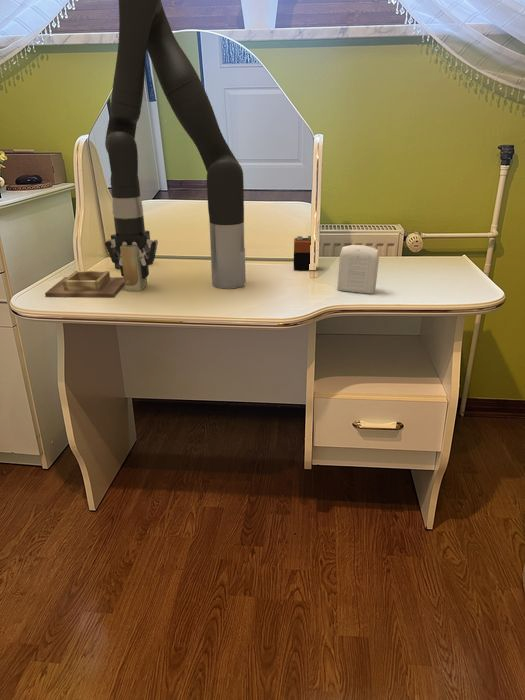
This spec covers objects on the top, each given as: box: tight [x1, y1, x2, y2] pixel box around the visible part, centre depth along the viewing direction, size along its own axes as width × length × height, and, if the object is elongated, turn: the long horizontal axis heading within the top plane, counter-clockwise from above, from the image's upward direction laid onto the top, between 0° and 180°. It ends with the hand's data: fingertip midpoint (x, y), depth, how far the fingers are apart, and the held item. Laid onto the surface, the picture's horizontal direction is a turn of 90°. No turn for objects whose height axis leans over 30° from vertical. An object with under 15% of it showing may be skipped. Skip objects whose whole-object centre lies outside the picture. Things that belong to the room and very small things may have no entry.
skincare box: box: [120, 245, 148, 292], centre depth 139 cm, size 6×4×12 cm
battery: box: [293, 235, 312, 272], centre depth 156 cm, size 4×7×10 cm, turn 88°
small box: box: [110, 229, 154, 271], centre depth 159 cm, size 11×6×10 cm, turn 144°
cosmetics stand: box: [44, 270, 125, 298], centre depth 141 cm, size 18×14×4 cm
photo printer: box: [336, 244, 380, 295], centre depth 137 cm, size 10×4×12 cm, turn 73°
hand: (135, 277), depth 141 cm, fingers closed on skincare box, 4 cm apart
